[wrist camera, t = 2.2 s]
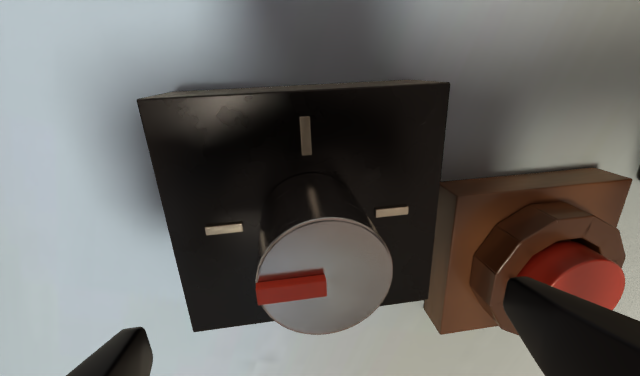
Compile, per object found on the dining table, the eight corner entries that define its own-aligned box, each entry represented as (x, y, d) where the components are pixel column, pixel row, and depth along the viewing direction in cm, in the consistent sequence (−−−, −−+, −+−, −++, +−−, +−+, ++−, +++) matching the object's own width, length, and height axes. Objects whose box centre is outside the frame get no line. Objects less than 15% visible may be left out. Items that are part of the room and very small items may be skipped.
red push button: (600, 235, 16) (638, 254, 14) (578, 304, 17) (610, 329, 16) (521, 245, 15) (551, 266, 14) (506, 315, 17) (531, 341, 15)
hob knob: (358, 168, 12) (401, 215, 8) (358, 256, 14) (394, 333, 10) (254, 177, 12) (245, 232, 8) (265, 267, 13) (263, 353, 9)
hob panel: (407, 79, 15) (453, 82, 11) (397, 254, 19) (430, 302, 15) (172, 91, 14) (133, 99, 10) (210, 277, 17) (192, 335, 14)
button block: (593, 166, 19) (674, 190, 15) (558, 289, 22) (617, 334, 18) (435, 181, 17) (480, 211, 14) (423, 309, 21) (456, 361, 17)
